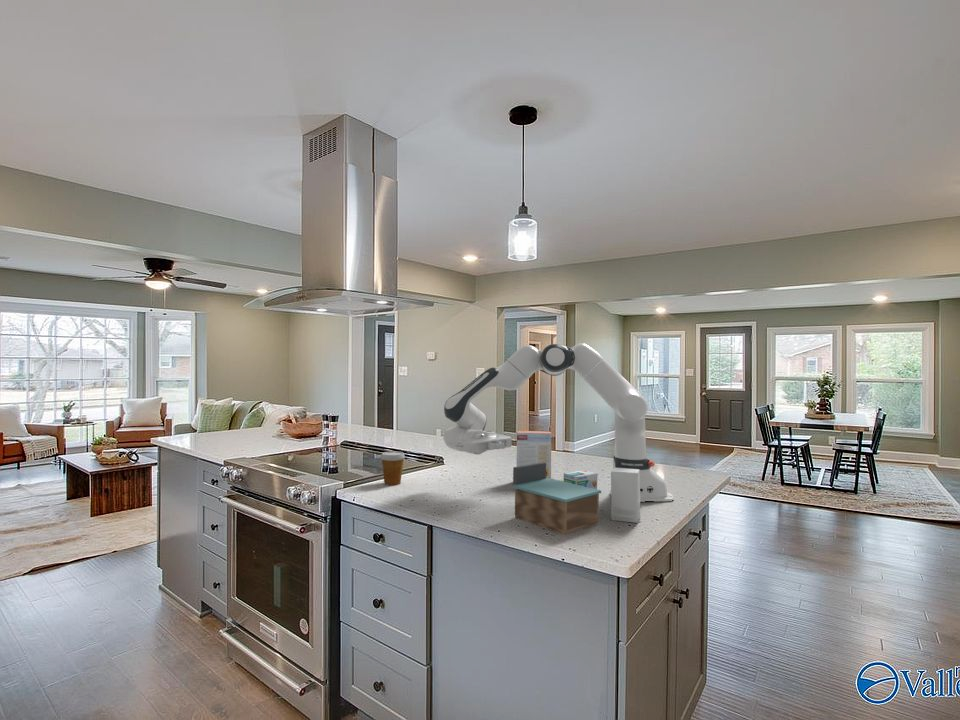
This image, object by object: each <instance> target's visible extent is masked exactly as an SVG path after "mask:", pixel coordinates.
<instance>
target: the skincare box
mask: <svg viewBox="0 0 960 720" xmlns="http://www.w3.org/2000/svg"><path fill="white" fill-rule="evenodd" d="M610 490H611V495H610V497H611V499H610V501H611V503H610V505H611V506H610V507H611V511H610V512H611V515H610V516H611V521H617V522H625V523H626V522H627V523H632V524H633V523H634V524H638V523H639V521H640V520H641V519H640V518H641V502H640V469H627V468H614V469H613V468H612V470H611V471H610Z"/></svg>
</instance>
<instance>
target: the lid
mask: <svg viewBox="0 0 960 720" xmlns="http://www.w3.org/2000/svg"><path fill="white" fill-rule="evenodd" d="M512 468H513V469H512V488H513V489H514V490H515V489H519V490H523V491H526V492H530V493H533V494H537V495H541V496H544V497H548V498H551V499H555V500H559V501H562V502H569V501H573V500H577V499H581V498H584V497H588V496H592V495H596V494H599V495H600V494H602V490H601V489H598V488H597V489H593V488H589V487H585V486H581V485H576V484H572V483H568V482H564V480H563V481H562V480H559V479H555V478H552V477H551V478H546V463H544V462H541V463H536V464H530V465H524V466H518V467H517V466H513V467H512Z"/></svg>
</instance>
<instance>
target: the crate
mask: <svg viewBox="0 0 960 720" xmlns="http://www.w3.org/2000/svg"><path fill="white" fill-rule="evenodd" d="M599 499H600V494H596V495H592V496H588V497H584V498H581V499H577V500H573V501H569V502H562V501H559V500H555V499H551V498H548V497H544V496H541V495H537V494H533V493H530V492H526V491H523V490H519V489H515V488H514V518H515V519H517V518H519V519H518V520H520V519H521V521H523V520H524V522H526V521H527V523H529V522H530V524H532V523H533V525H535V524H536V526H538V525H539V526H538V527H541V526H542V527H541V528H544V527H545V529H547V530H550V531H554V532H555V533H558V534H561V535H568V534H570V533H574V532H577V531H580V530H582V529H583V530H584V529H586V528H590V527H591V526H594V525H595V526H596V525H599V514H600V513H599V512H600V511H599V504H600V503H599V502H600V500H599Z"/></svg>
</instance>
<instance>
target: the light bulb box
mask: <svg viewBox="0 0 960 720" xmlns="http://www.w3.org/2000/svg"><path fill="white" fill-rule="evenodd" d="M563 481H564V482H568V483H572V484H576V485H581V486H585V487H589V488H593V489H597V490H598V473H597V472H594V471H593V472H592V471H588V470H585V469H582V470H578V471H570V472H564V473H563Z"/></svg>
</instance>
